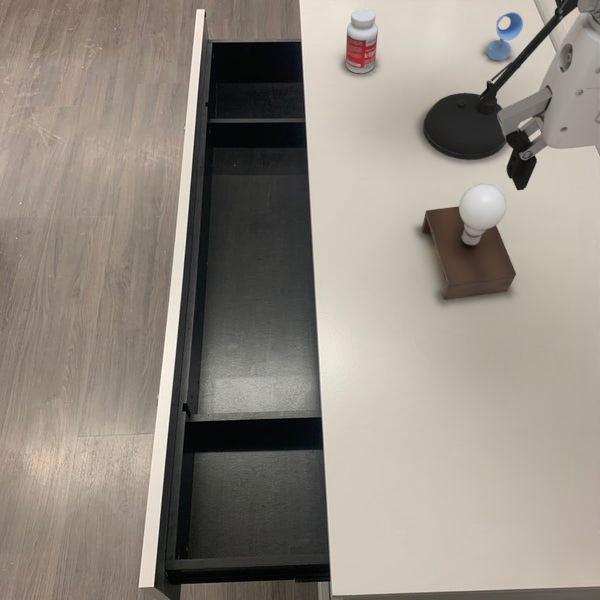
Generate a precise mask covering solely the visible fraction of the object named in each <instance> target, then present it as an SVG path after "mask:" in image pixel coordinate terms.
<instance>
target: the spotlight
mask: <svg viewBox="0 0 600 600" xmlns="http://www.w3.org/2000/svg"><path fill="white" fill-rule="evenodd" d="M504 17H507V18H509V22H510V23H509V25H508V26H507V27H506V28H504V29H502V28H500V27H499V24H500V22H501V21H502V19H504ZM523 27H524V20H523V18H522V16H521V15H520V14H519V13H517V12H515V11H511V12H507V13H504V14H503V15H501V16H499V17H498V19H497V20H496V27H495V28H496V29H495V30H496V34H497V37H498V38H499V39H496V40H493V41H490V42H489V44H488V47H487V50H486V55H487V57H488V58H490V59H491V60H494V61H504V60H506V59H508V58H509V56H510V53H511V49H512V46H511V44H510V43H509V42H508V41H511V40H514V39H516V38H517V37H518V36H519V35H520V34H521V32H522V30H523Z"/></svg>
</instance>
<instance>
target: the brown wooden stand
mask: <svg viewBox="0 0 600 600" xmlns="http://www.w3.org/2000/svg"><path fill="white" fill-rule="evenodd" d="M421 225H422V226H421V232H422V234H423V233H424V234H425V233H431V236H432V240H433V242H434V246H435V248H436V252H437V254H438V257H439V261H440V264H441V267H442V270H443V273H444V276H445V279H446V283H445V287H444V289H443V292H442V295H441V297H442V300H445V301H446V300H453V299H461V298H467V297H475V296H482V295H491V294H498V293H505V292H508V290H509V289H510V287H511V285H512V283H513V281H514V280H515V277H516V276H517V272H516V270H515V267H514V265H513V262H512V259H511V258H510V256H509V253H508V250H507V248H506V244H504V241H503V238H502V236H501V233H500V231H499V228H498V226H497V225H496V226H494V227H492V228H490V229H487V230H486V231H485V232H484V233H483V234H482V236H481V239H480V241H479V243H478V244H476V245H473V246H471V245H467V244H465V243H464V242H463V241H462V235H463V232H464V229H465V228H464V222H463V220H462V219H461V216H460V213H459V205H458V206H450V207H442V208H433V209H427V210H425V213H424V217H423V222H422V224H421Z"/></svg>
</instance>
